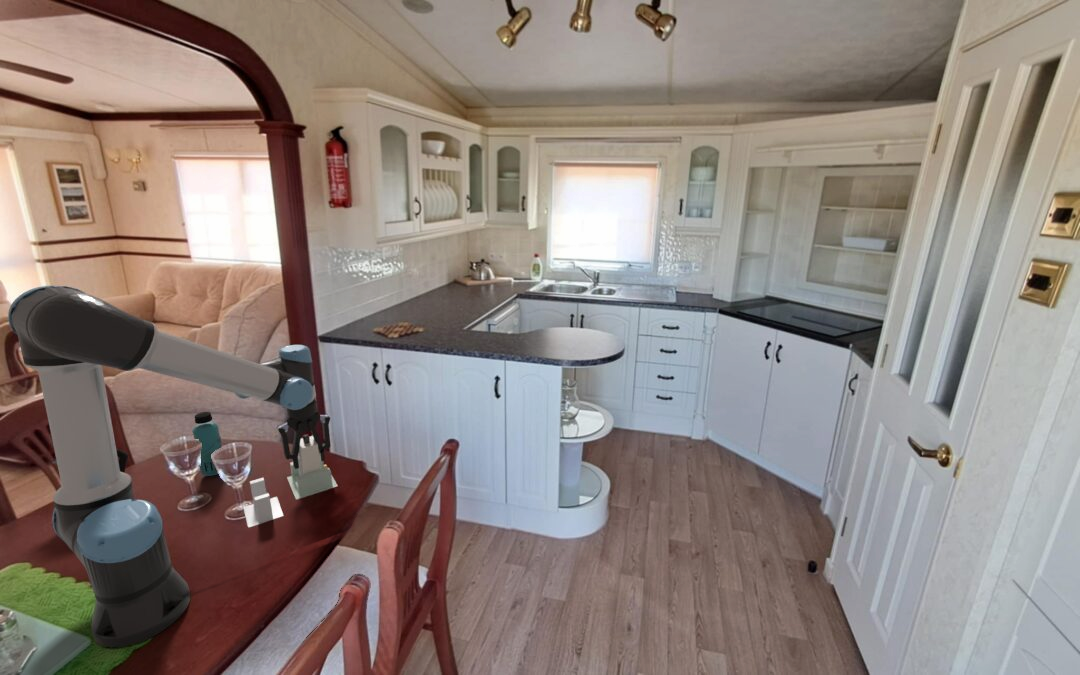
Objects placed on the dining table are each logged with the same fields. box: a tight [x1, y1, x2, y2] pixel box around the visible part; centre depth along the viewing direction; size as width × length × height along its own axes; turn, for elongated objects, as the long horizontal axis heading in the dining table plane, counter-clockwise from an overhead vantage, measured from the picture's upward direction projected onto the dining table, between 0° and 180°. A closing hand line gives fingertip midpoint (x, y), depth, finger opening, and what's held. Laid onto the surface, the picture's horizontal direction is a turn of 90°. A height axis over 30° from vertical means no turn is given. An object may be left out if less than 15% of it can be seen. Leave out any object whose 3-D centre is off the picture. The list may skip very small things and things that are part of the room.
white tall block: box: [298, 433, 321, 475], centre depth 135 cm, size 6×4×14 cm
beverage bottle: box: [191, 411, 223, 477], centre depth 139 cm, size 6×7×20 cm
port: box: [286, 461, 338, 501], centre depth 137 cm, size 13×11×6 cm
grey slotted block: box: [243, 477, 284, 529], centre depth 124 cm, size 10×8×8 cm
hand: (310, 473), depth 137 cm, fingers closed on white tall block, 4 cm apart
